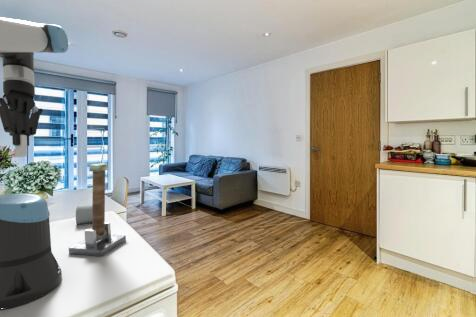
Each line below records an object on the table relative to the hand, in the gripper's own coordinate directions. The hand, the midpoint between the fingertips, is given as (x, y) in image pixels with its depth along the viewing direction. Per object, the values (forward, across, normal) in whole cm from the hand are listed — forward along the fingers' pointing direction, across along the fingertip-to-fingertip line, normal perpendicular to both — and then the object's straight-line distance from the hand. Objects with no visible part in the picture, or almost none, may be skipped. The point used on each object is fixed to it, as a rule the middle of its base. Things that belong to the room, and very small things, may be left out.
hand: (21, 156), depth 76 cm
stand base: (+32, -15, +12) cm, 37 cm away
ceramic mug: (+25, -36, -13) cm, 45 cm away
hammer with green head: (+30, -14, +13) cm, 35 cm away
